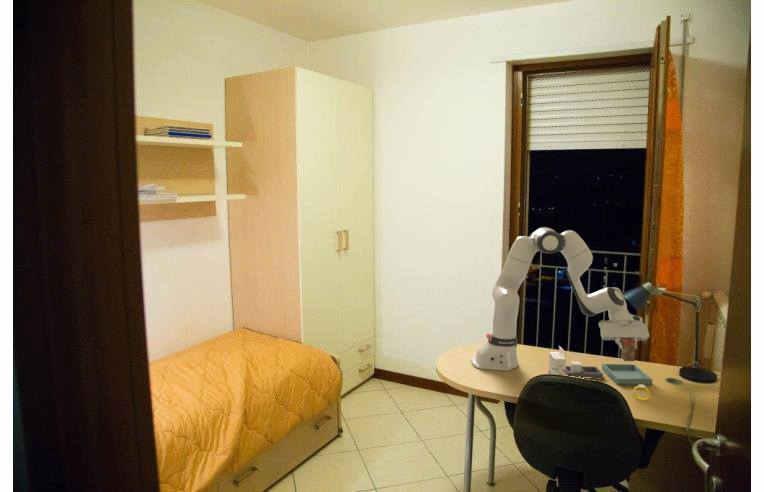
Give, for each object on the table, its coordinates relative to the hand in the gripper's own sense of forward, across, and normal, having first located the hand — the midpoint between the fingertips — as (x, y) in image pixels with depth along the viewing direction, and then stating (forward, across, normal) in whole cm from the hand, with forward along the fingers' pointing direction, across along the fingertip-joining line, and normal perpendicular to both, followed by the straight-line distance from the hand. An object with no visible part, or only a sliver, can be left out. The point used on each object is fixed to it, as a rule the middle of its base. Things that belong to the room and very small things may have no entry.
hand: (628, 348), depth 211 cm
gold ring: (+24, -3, -4) cm, 25 cm away
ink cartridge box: (+12, -32, +8) cm, 35 cm away
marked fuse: (+3, 0, +4) cm, 5 cm away
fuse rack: (+8, -19, +12) cm, 23 cm away
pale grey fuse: (+8, -22, +11) cm, 26 cm away
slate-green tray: (+9, 0, +10) cm, 14 cm away
